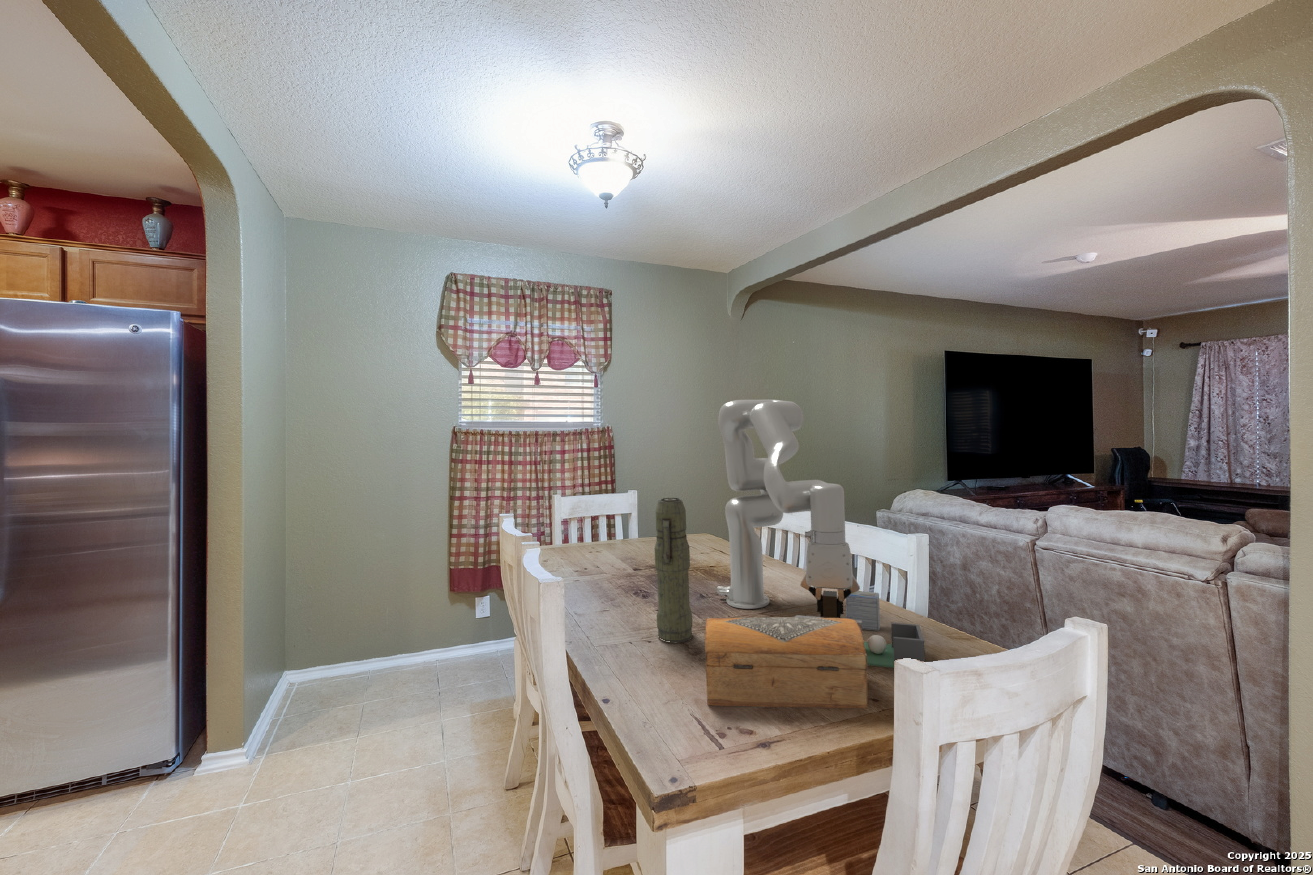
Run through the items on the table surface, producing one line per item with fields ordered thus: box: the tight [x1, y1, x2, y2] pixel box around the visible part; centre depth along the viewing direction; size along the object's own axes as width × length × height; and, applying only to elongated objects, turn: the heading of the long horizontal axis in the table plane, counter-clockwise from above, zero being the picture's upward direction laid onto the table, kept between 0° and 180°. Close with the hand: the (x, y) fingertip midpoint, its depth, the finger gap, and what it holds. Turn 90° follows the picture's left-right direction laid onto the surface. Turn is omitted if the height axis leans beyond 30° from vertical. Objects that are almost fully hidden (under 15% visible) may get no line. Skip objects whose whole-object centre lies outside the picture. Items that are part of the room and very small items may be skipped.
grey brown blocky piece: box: [794, 590, 863, 634], centre depth 128 cm, size 15×4×12 cm, turn 70°
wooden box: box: [704, 616, 869, 709], centre depth 112 cm, size 30×16×14 cm, turn 83°
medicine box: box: [845, 590, 881, 632], centre depth 142 cm, size 8×4×9 cm, turn 65°
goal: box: [890, 621, 926, 663], centre depth 123 cm, size 6×10×6 cm, turn 160°
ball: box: [867, 634, 888, 654], centre depth 125 cm, size 4×4×4 cm
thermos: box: [654, 497, 693, 643], centre depth 140 cm, size 9×12×35 cm
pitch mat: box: [864, 641, 895, 669], centre depth 125 cm, size 14×12×1 cm
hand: (830, 615), depth 128 cm, fingers closed on grey brown blocky piece, 3 cm apart
